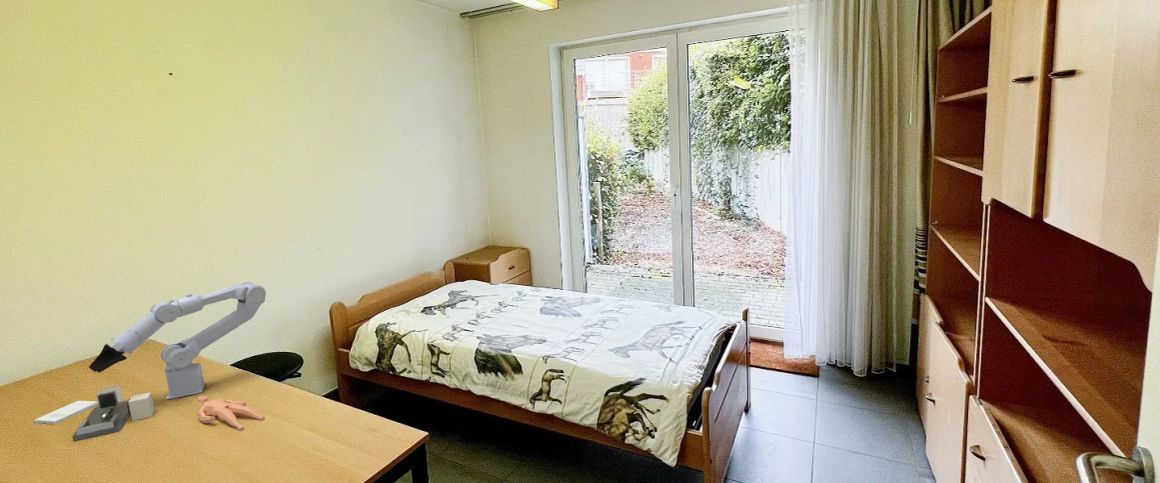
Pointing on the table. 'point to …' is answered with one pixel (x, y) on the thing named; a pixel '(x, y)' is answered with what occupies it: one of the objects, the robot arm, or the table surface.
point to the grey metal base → (104, 415)
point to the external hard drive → (66, 412)
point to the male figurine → (225, 411)
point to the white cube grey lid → (140, 406)
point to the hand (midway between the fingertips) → (93, 370)
